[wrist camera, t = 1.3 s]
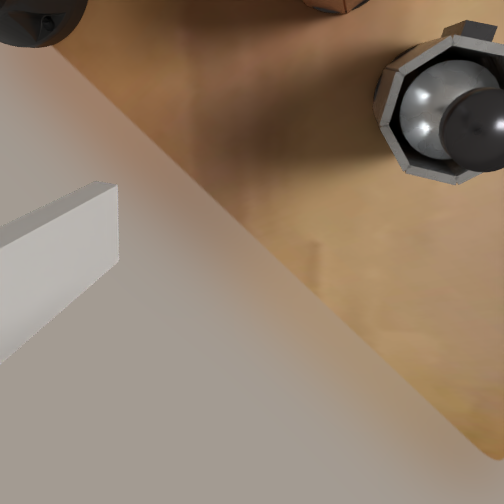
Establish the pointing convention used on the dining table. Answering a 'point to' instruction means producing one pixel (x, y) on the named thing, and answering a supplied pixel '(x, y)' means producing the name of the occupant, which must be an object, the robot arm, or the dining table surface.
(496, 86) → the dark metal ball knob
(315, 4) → the copper press
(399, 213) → the dining table surface
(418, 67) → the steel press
